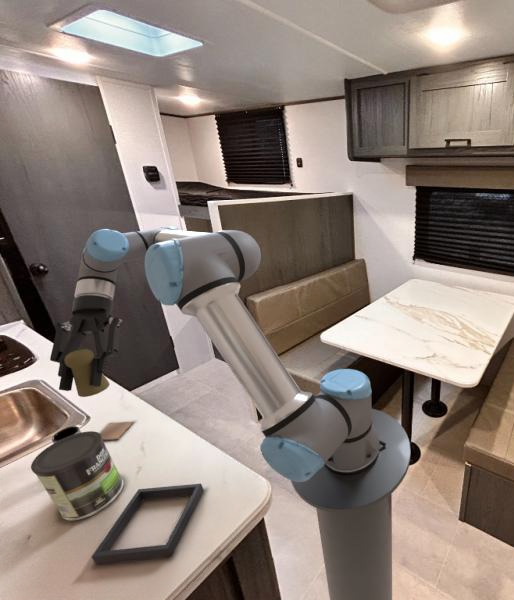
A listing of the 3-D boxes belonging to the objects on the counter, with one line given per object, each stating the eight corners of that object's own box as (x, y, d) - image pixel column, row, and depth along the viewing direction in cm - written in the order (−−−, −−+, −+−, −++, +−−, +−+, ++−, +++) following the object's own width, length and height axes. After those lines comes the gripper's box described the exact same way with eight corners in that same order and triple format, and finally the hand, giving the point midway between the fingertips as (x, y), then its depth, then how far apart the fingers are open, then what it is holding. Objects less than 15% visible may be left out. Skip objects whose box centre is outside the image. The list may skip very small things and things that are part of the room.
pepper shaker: (88, 399, 77) (69, 361, 72) (72, 393, 78) (53, 356, 74) (115, 384, 82) (99, 348, 78) (99, 379, 84) (83, 344, 79)
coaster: (133, 422, 89) (132, 421, 89) (118, 439, 84) (117, 438, 84) (110, 424, 89) (109, 423, 88) (93, 441, 83) (93, 440, 83)
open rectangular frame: (204, 491, 71) (201, 483, 70) (171, 556, 59) (167, 548, 58) (142, 496, 69) (138, 489, 68) (96, 565, 57) (91, 556, 56)
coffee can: (133, 471, 75) (112, 427, 69) (107, 514, 66) (81, 466, 60) (81, 481, 73) (55, 435, 67) (47, 526, 63) (14, 478, 58)
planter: (69, 477, 74) (50, 444, 70) (70, 464, 77) (52, 432, 73) (95, 465, 76) (78, 433, 72) (95, 453, 79) (78, 423, 75)
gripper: (141, 301, 89) (133, 383, 81) (62, 308, 85) (45, 396, 77) (126, 290, 83) (115, 379, 75) (39, 297, 78) (18, 392, 70)
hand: (80, 387), depth 76 cm, fingers closed on pepper shaker, 5 cm apart
